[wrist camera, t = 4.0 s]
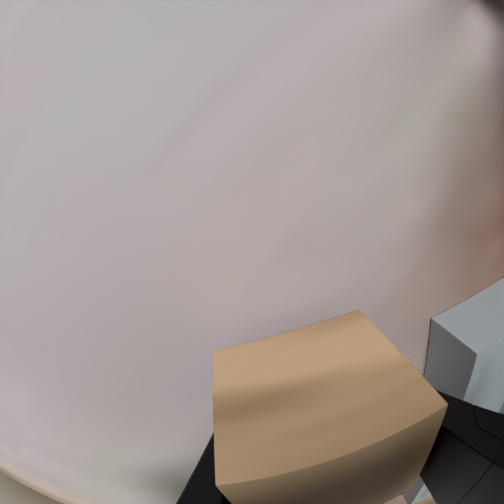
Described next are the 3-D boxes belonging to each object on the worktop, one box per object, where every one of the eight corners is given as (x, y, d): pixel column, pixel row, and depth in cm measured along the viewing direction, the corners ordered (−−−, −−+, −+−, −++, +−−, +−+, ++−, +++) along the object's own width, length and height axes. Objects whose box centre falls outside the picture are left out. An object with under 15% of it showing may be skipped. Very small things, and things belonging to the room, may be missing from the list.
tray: (493, 417, 15) (509, 434, 12) (395, 480, 14) (409, 506, 11) (542, 250, 10) (575, 263, 7) (431, 318, 10) (477, 354, 7)
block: (361, 404, 9) (411, 489, 5) (250, 438, 9) (266, 537, 5) (358, 309, 8) (448, 404, 4) (213, 351, 8) (216, 485, 4)
